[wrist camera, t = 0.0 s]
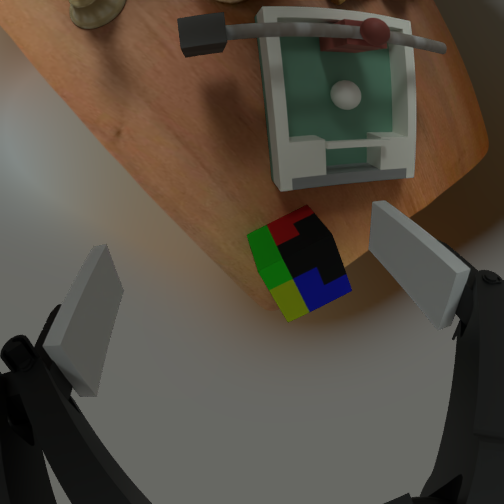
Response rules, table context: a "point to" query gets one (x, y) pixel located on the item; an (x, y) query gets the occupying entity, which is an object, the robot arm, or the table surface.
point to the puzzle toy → (299, 262)
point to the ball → (345, 94)
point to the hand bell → (94, 12)
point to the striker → (296, 34)
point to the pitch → (327, 113)
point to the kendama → (337, 1)
